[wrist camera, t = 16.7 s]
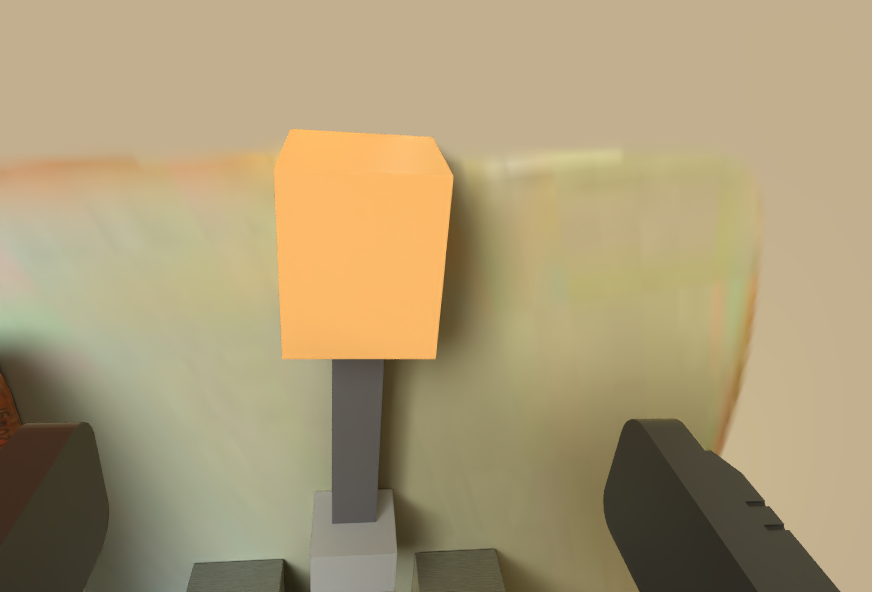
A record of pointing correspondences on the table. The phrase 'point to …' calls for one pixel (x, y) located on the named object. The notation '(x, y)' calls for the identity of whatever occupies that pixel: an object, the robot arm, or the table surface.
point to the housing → (431, 588)
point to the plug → (359, 314)
